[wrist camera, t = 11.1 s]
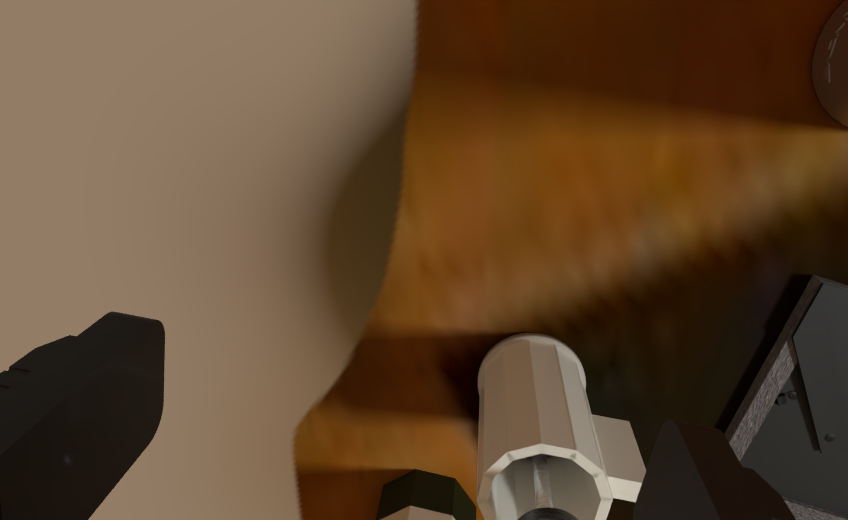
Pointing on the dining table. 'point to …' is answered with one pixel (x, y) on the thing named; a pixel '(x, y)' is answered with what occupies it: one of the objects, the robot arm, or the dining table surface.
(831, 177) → the dining table surface
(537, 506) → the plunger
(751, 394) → the picture frame
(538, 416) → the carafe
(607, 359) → the dining table surface
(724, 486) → the robot arm
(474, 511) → the wine bottle
